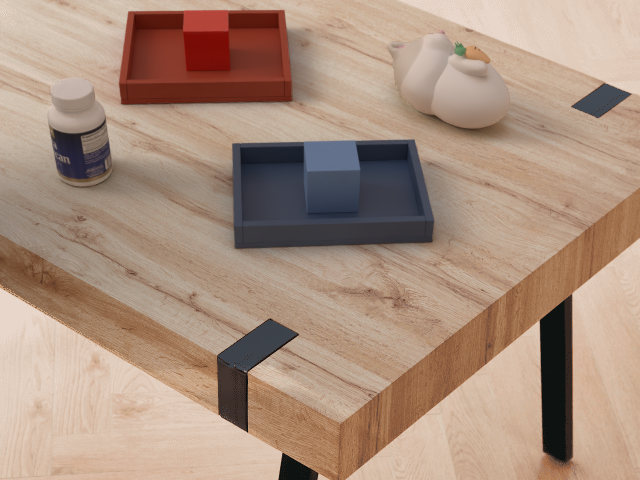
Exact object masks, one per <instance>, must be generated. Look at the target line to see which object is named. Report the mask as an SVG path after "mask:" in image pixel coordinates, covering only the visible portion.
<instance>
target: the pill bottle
mask: <svg viewBox="0 0 640 480" xmlns="http://www.w3.org/2000/svg"><path fill="white" fill-rule="evenodd" d="M49 90H50V98H51V102H52V105H50V107H49V109H48V110H47V124H48V130H49V134H50V141H51V146H52V152H53V157H54V162H55V168H56V171H57V175H58V177H59V178H60V180H61V181H62V182H63V183H65V184H67V185H71V186H73V187H81V188H82V187H83V188H84V187H91V186H95V185H98V184H100V183H102V182H104V181H105V180H107V179H108V178H109V177H110V175H111V174H112V172H113V159H112V158H113V157H112V152H111V145H110V137H109V132H108V131H109V130H108V124H107V123H108V122H107V116H106V111H105V108H104V105H102V103H101V102H99V100H97V99H96V92H95V87H94V84H93V83H92V82H91V80H88V79H87V78H84V77H80V76H79V77H78V76H72V77H71V76H70V77H64V78H62V79H59V80H57V81H55V82H54V83H53V84H52V85H51V87H50V89H49Z"/></svg>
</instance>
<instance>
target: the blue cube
mask: <svg viewBox="0 0 640 480" xmlns="http://www.w3.org/2000/svg"><path fill="white" fill-rule="evenodd" d="M355 141H356V140H355V139H353V140H352V139H351V140H350V139H349V140H347V139H346V140H310V141H309V140H308V141H307V140H306V141H303V142H304V190H305V200H306V209H307V213H340V212H358V211H359V191H360V164H359V159H358V153H357V147H356V142H355Z"/></svg>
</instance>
